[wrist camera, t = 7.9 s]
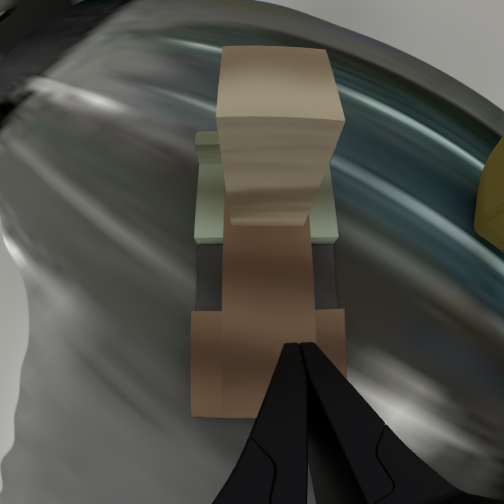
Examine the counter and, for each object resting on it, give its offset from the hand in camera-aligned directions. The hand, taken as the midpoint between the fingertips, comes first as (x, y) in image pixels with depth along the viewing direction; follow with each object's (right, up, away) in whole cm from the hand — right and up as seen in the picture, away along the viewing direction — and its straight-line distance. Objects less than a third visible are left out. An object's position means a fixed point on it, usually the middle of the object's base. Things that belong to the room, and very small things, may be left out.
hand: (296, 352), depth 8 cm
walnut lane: (0, 0, +13) cm, 13 cm away
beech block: (0, +7, +14) cm, 16 cm away
